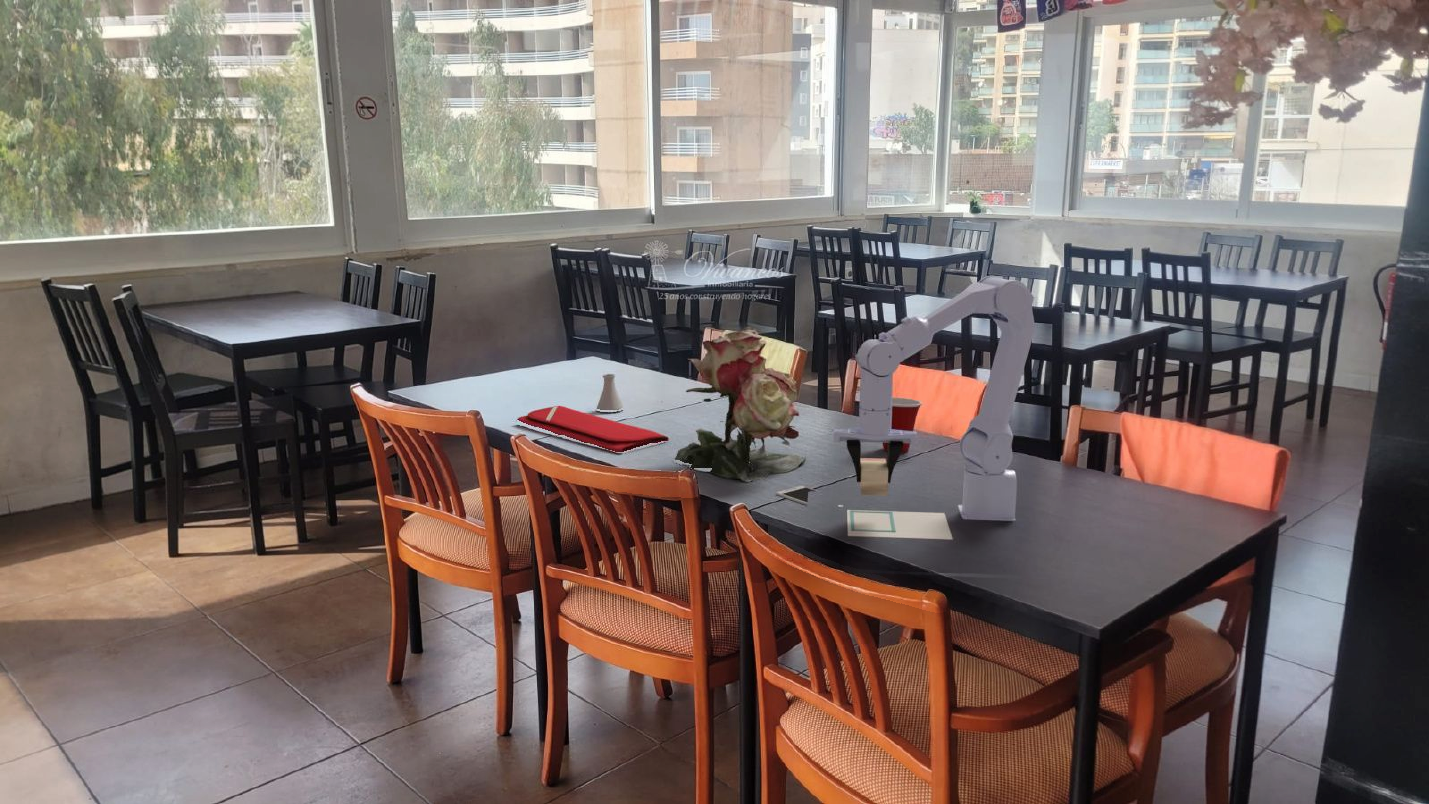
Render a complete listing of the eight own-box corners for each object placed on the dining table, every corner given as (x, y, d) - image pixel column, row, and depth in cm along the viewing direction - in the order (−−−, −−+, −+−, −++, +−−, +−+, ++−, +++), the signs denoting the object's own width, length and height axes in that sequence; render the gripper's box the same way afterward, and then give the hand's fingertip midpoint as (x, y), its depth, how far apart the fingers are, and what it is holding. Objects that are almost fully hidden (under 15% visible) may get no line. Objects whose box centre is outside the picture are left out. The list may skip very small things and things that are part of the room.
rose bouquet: (762, 489, 204) (763, 343, 197) (661, 462, 223) (658, 329, 216) (836, 462, 222) (839, 328, 216) (736, 440, 241) (736, 316, 235)
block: (887, 495, 177) (888, 471, 176) (861, 494, 177) (861, 470, 176) (884, 482, 185) (885, 458, 184) (859, 481, 185) (860, 458, 184)
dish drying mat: (619, 457, 229) (619, 441, 228) (514, 427, 257) (514, 413, 256) (669, 444, 240) (669, 429, 239) (563, 417, 268) (563, 403, 267)
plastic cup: (929, 449, 232) (931, 398, 230) (903, 458, 225) (905, 406, 222) (889, 441, 240) (891, 392, 237) (863, 450, 232) (865, 399, 229)
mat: (944, 515, 187) (944, 512, 187) (952, 542, 173) (952, 538, 173) (846, 512, 189) (846, 509, 189) (847, 538, 175) (847, 535, 175)
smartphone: (831, 515, 188) (831, 510, 188) (775, 496, 200) (775, 491, 200) (857, 507, 193) (857, 503, 193) (801, 489, 205) (801, 485, 204)
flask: (628, 410, 274) (627, 374, 272) (612, 415, 268) (611, 378, 266) (607, 406, 278) (606, 371, 275) (591, 412, 272) (589, 375, 269)
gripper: (915, 403, 181) (912, 475, 184) (834, 401, 183) (832, 473, 186) (918, 412, 174) (915, 487, 177) (834, 410, 176) (832, 484, 179)
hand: (873, 481), depth 181 cm, fingers closed on block, 5 cm apart
